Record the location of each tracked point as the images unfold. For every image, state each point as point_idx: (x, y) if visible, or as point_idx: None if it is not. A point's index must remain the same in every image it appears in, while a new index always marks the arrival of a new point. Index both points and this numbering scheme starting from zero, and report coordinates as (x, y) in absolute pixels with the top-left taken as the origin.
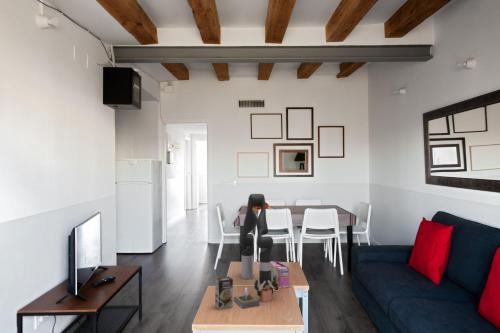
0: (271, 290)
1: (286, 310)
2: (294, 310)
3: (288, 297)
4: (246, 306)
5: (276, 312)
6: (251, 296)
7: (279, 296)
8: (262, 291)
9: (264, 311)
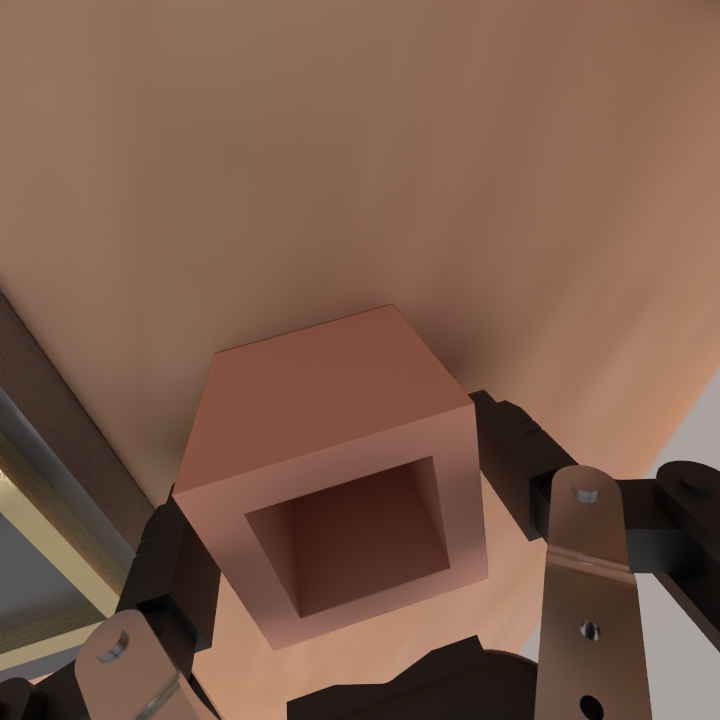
0: (484, 578)
1: (460, 638)
2: (522, 631)
3: (677, 365)
4: None
5: (359, 672)
6: (9, 520)
7: (594, 310)
8: (263, 634)
9: (246, 673)
